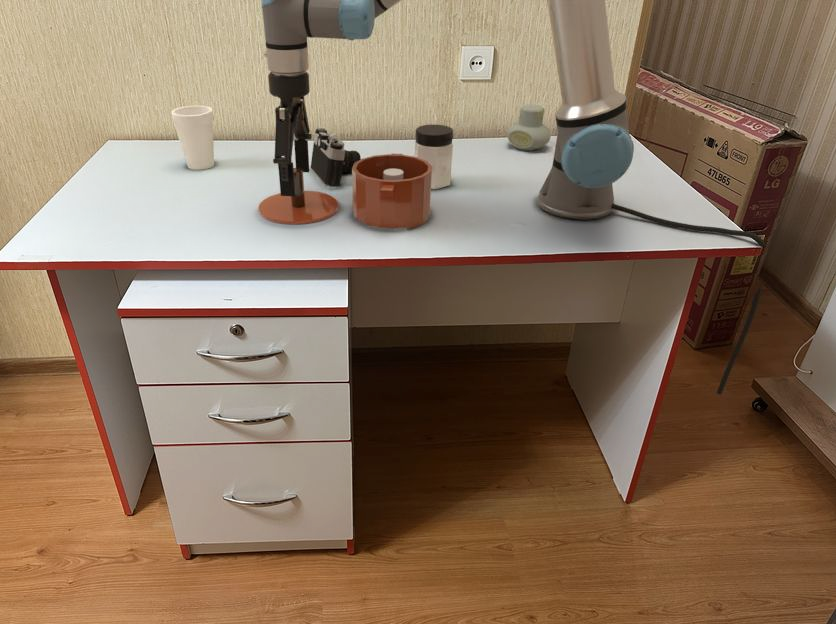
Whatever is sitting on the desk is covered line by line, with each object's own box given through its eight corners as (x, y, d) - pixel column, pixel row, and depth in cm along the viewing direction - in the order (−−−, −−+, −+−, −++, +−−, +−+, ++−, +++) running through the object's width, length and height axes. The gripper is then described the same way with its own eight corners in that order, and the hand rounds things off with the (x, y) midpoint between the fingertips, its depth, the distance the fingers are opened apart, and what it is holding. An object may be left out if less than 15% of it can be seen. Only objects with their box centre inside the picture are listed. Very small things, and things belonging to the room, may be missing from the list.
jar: (427, 192, 141) (429, 137, 134) (405, 181, 146) (407, 128, 139) (458, 184, 145) (462, 130, 138) (436, 173, 150) (439, 121, 143)
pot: (431, 197, 138) (434, 151, 133) (426, 238, 121) (429, 188, 116) (361, 194, 140) (360, 149, 134) (346, 234, 123) (344, 184, 117)
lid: (344, 197, 139) (343, 157, 134) (331, 229, 125) (329, 186, 120) (270, 194, 140) (266, 155, 135) (249, 225, 127) (244, 183, 122)
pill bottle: (387, 217, 128) (387, 177, 124) (377, 209, 132) (377, 169, 127) (408, 213, 130) (409, 173, 125) (398, 205, 133) (398, 166, 129)
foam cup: (226, 166, 155) (218, 112, 148) (190, 174, 151) (180, 118, 143) (211, 156, 162) (202, 103, 154) (176, 163, 157) (165, 109, 150)
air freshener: (553, 147, 166) (560, 107, 160) (538, 155, 161) (544, 114, 155) (517, 139, 172) (522, 100, 166) (500, 146, 167) (505, 107, 161)
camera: (366, 189, 146) (374, 146, 141) (321, 187, 142) (328, 142, 136) (346, 169, 157) (352, 128, 152) (304, 166, 153) (309, 123, 148)
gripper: (284, 57, 128) (291, 161, 140) (249, 87, 107) (261, 205, 120) (321, 58, 127) (325, 163, 139) (293, 88, 107) (300, 207, 119)
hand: (295, 183), depth 129 cm, fingers open, 13 cm apart
